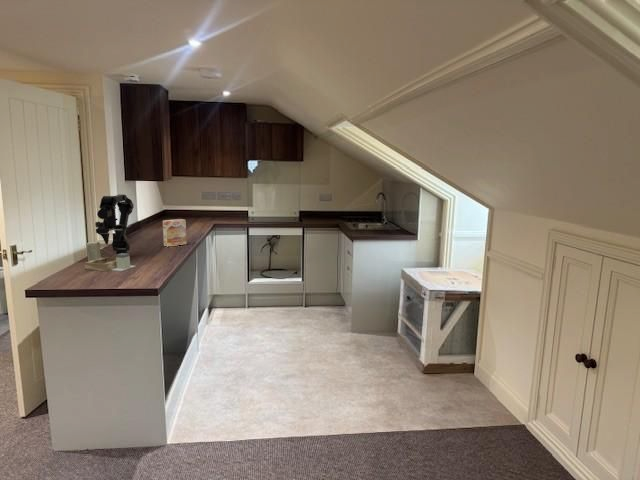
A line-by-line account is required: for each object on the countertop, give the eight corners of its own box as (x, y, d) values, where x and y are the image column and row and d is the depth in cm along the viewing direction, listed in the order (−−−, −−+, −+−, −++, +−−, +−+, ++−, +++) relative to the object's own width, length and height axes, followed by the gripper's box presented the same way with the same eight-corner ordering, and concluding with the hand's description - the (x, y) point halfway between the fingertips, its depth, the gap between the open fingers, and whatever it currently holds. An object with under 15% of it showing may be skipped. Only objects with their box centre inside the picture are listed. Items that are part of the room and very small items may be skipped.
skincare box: (101, 261, 268) (100, 241, 266) (98, 262, 264) (96, 243, 262) (91, 261, 268) (89, 241, 266) (87, 262, 264) (85, 243, 262)
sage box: (123, 266, 252) (122, 253, 250) (130, 267, 250) (129, 253, 249) (117, 268, 247) (115, 254, 246) (124, 268, 246) (123, 255, 244)
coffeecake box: (167, 248, 311) (165, 221, 308) (163, 246, 316) (162, 220, 313) (187, 245, 321) (185, 219, 317) (183, 244, 326) (181, 218, 323)
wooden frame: (105, 263, 261) (104, 257, 261) (125, 265, 257) (125, 258, 257) (85, 269, 246) (84, 262, 246) (106, 271, 243) (105, 264, 242)
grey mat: (126, 266, 255) (126, 265, 255) (135, 266, 254) (135, 265, 253) (111, 270, 244) (111, 269, 244) (121, 271, 242) (121, 270, 242)
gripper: (110, 215, 266) (112, 239, 269) (87, 218, 248) (89, 245, 251) (125, 215, 263) (127, 240, 266) (103, 219, 245) (105, 246, 248)
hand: (112, 243), depth 258 cm, fingers open, 9 cm apart
